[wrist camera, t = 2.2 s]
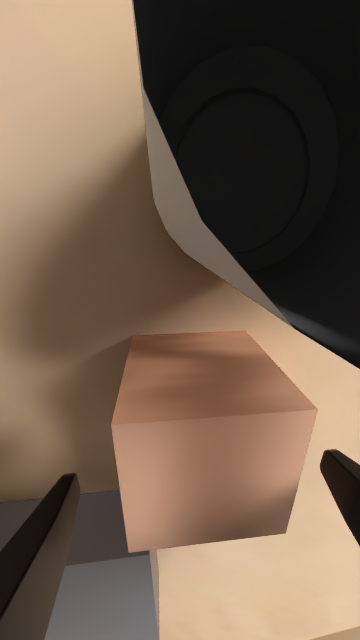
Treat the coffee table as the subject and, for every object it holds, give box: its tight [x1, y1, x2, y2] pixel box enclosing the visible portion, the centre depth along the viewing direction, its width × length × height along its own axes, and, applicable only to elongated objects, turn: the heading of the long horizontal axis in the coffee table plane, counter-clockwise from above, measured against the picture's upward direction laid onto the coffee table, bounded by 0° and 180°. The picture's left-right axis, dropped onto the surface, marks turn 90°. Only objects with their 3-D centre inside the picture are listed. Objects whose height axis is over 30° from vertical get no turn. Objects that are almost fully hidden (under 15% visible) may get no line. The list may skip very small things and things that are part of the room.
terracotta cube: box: [111, 331, 318, 553], centre depth 10 cm, size 6×6×6 cm
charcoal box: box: [0, 490, 159, 640], centre depth 16 cm, size 11×11×4 cm
